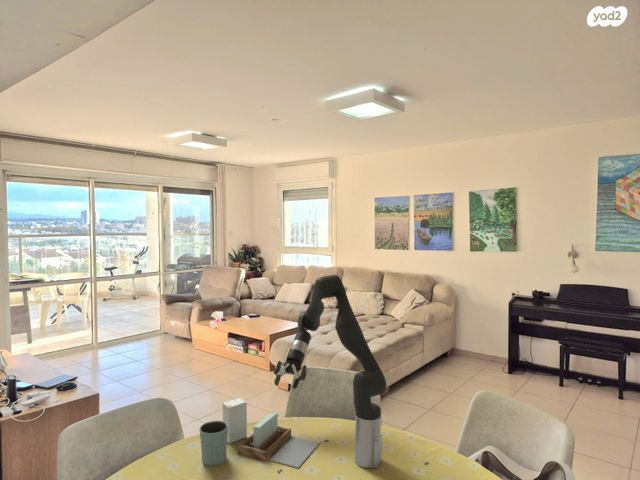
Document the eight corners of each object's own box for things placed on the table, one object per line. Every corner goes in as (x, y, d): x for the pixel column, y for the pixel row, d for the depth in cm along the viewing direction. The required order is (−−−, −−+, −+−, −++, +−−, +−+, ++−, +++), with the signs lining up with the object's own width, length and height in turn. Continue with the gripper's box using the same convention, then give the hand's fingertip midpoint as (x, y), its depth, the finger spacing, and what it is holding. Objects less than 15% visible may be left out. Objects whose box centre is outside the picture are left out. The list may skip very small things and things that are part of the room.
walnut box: (291, 436, 168) (291, 428, 168) (265, 460, 150) (265, 452, 150) (265, 430, 173) (265, 423, 173) (238, 453, 155) (238, 445, 155)
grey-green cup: (220, 468, 145) (220, 434, 144) (193, 465, 147) (194, 431, 147) (232, 453, 155) (232, 421, 154) (207, 450, 157) (207, 419, 156)
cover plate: (277, 437, 167) (277, 412, 167) (259, 454, 155) (259, 427, 154) (272, 436, 168) (272, 411, 168) (253, 452, 156) (253, 426, 155)
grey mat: (319, 443, 163) (319, 442, 163) (298, 468, 145) (298, 467, 145) (292, 437, 167) (292, 436, 167) (268, 460, 150) (268, 459, 150)
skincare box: (240, 432, 171) (240, 396, 171) (247, 437, 166) (247, 401, 166) (221, 438, 166) (222, 401, 166) (228, 444, 161) (228, 406, 161)
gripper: (280, 346, 185) (267, 379, 175) (309, 350, 179) (297, 385, 169) (286, 354, 190) (273, 387, 180) (314, 359, 184) (302, 393, 174)
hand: (284, 386), depth 175 cm, fingers open, 8 cm apart
